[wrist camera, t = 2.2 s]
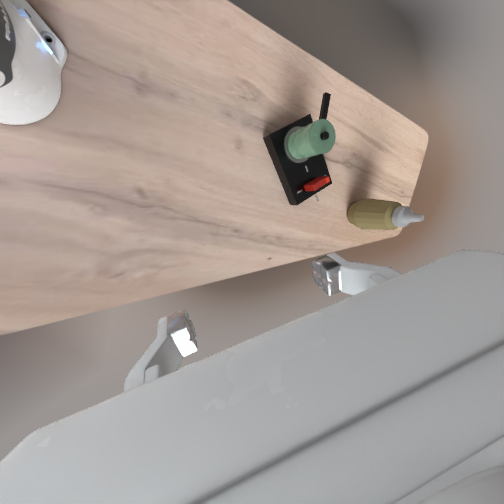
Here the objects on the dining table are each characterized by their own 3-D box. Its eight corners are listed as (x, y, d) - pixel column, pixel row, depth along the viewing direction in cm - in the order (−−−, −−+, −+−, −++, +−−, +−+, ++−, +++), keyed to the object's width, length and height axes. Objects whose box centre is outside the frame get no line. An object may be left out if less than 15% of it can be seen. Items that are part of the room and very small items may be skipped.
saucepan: (276, 119, 47) (301, 103, 39) (306, 104, 49) (335, 86, 41) (293, 164, 51) (319, 158, 43) (320, 148, 52) (350, 140, 45)
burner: (278, 135, 49) (279, 134, 48) (304, 121, 50) (306, 120, 50) (291, 168, 51) (292, 168, 51) (315, 154, 53) (317, 153, 52)
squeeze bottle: (340, 225, 64) (405, 234, 48) (347, 195, 63) (415, 194, 47) (361, 229, 67) (428, 239, 51) (368, 201, 66) (439, 202, 50)
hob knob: (305, 191, 54) (315, 190, 50) (303, 185, 53) (313, 184, 50) (320, 182, 55) (331, 181, 51) (318, 176, 54) (329, 175, 51)
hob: (263, 138, 50) (269, 134, 48) (302, 118, 53) (310, 113, 50) (292, 211, 57) (300, 212, 54) (326, 190, 60) (335, 190, 57)
